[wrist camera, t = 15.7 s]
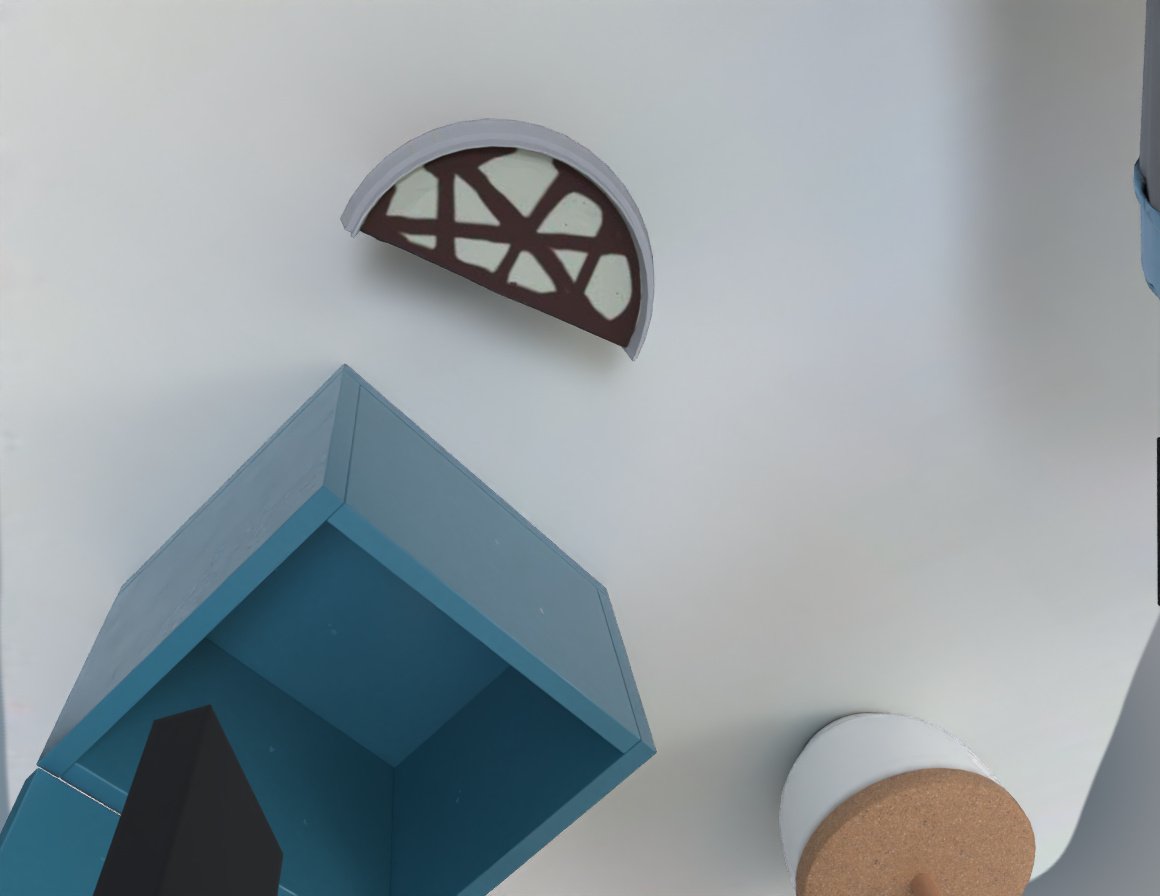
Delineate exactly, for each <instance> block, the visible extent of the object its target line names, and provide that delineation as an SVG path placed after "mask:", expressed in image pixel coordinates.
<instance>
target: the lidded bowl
mask: <svg viewBox="0 0 1160 896" xmlns="http://www.w3.org/2000/svg"><path fill="white" fill-rule="evenodd" d="M779 825H780V836H781V844H782V848H783V852H784V856H785V861H786V865H787V869H788V872H789V875H790V878H791V881H792V884H793V886H794V889H795V891H796V895H797V896H1021V895H1022V893H1023V892H1024V890H1025V887H1026V886H1027V884H1028V882H1029V880H1030V876H1031V873H1032V869H1033V865H1034V858H1035V839H1034V833H1033V830H1032V827H1031V824H1030V821H1029V820H1028V818H1027V816H1026V815H1025V813H1024V811H1023V810H1022V808H1021V807H1020V805H1019V804H1018V803H1017V801H1016V800H1015V799H1014V798H1013V797H1012V796H1011V795H1010V794H1009V793H1008V792H1007V791H1006V790H1005V789H1004V788H1003V787H1002V785H1001V784H1000V782H999V781H998V780H997V779H996V777H995V776H994V775H993V774H992V772H991V771H990V770H989V769H988V768H987V767H986V766H985V765H984V764H983V762H982V761H981V760H980V759H979V758H978V757H977V756H976V755H975V754H974V753H973V752H972V751H971V750H970V749H969V748H968V747H967V746H965V745H964V744H963V743H961V742H960V741H959V740H958V739H956V738H955V737H954V736H952V735H951V734H949V733H948V732H946V731H945V730H943V729H941V728H939V727H937V726H935V725H933V724H931V723H928V722H926V721H924V720H921V719H917V718H913V717H909V716H905V715H900V714H890V713H886V714H877V713H859V714H853V715H849V716H846V717H843V718H840V719H838V720H836V721H833V722H832V723H830V724H828V725H827V726H825V727H824V728H822V729H821V730H820V731H818V732H817V733H816V734H815V735H814V736H813V737H812V738H811V739H810V740H809V742H808V743H807V744H806V746H805V747H804V749H803V751H802V753H801V755H800V756H799V757H798V759H797V760H796V761H795V763H794V765H793V766H792V768H791V770H790V772H789V774H788V777H787V780H786V783H785V786H784V789H783V791H782V797H781V803H780V813H779Z"/></svg>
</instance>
